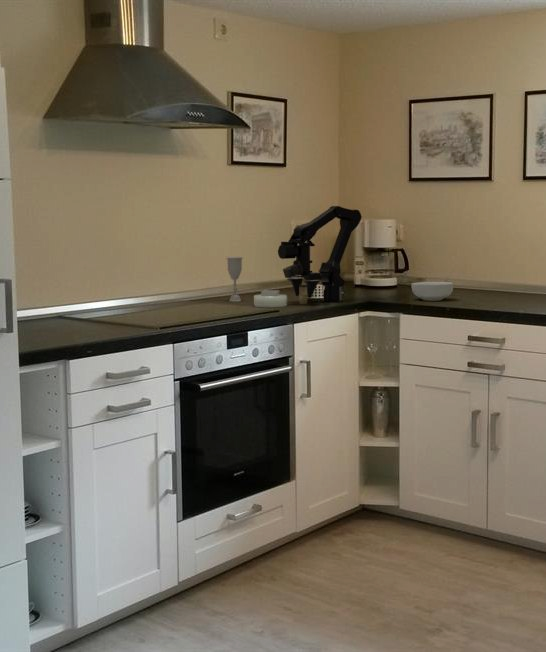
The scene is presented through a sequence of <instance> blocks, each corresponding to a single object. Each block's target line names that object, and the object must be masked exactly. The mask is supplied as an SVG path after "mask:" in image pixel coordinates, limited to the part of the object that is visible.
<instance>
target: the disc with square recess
mask: <svg viewBox="0 0 546 652" xmlns="http://www.w3.org/2000/svg"><path fill="white" fill-rule="evenodd" d="M287 306H288V295H287V294H282V293H280V290H279V289H278V290H277V289H275V290H273V289H272V290H270V289H269V290H268V289H265V290H261V291H260V294H255V295H253V307H256V308H284V307H287Z"/></svg>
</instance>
